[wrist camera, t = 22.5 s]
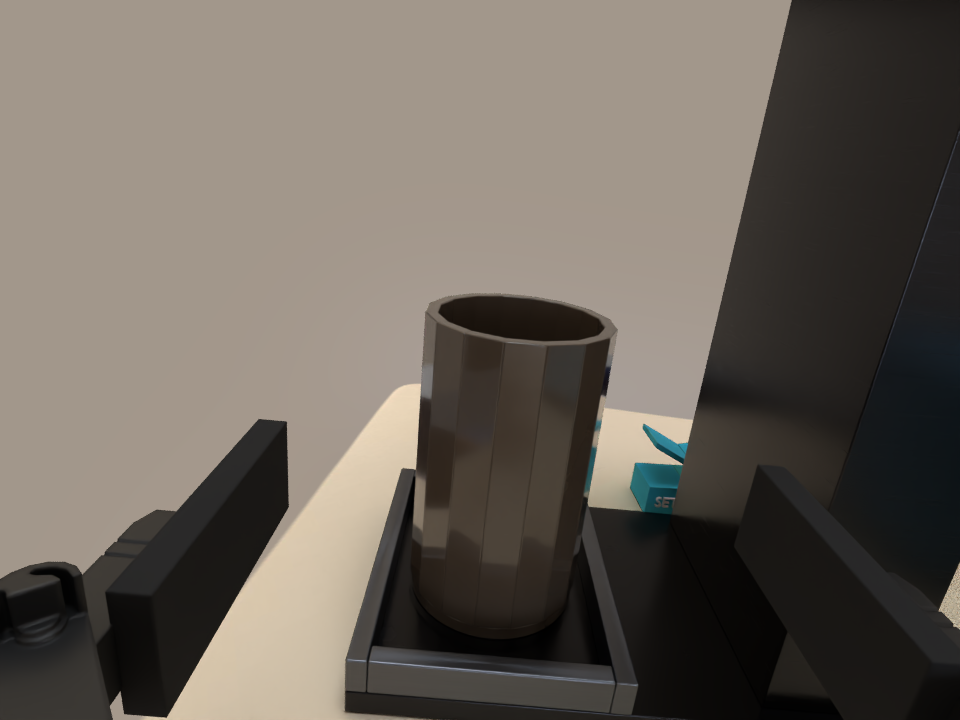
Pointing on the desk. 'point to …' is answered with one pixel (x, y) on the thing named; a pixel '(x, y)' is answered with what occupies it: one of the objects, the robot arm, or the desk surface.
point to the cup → (505, 458)
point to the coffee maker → (755, 414)
